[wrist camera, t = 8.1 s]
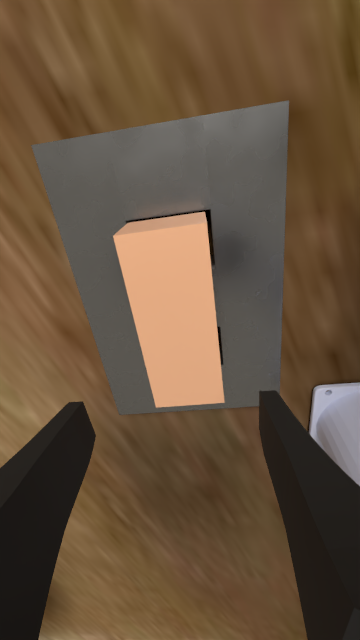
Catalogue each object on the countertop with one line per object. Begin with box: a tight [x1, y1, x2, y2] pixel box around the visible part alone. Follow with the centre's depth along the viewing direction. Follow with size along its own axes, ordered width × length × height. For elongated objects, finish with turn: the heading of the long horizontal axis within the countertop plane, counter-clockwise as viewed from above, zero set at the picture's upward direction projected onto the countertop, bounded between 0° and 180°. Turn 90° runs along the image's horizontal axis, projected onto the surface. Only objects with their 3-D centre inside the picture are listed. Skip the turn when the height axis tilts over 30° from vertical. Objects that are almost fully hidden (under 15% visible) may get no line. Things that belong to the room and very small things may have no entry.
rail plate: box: [31, 101, 289, 415], centre depth 18 cm, size 12×18×2 cm, turn 8°
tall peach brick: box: [113, 212, 225, 408], centre depth 17 cm, size 4×10×6 cm, turn 8°
